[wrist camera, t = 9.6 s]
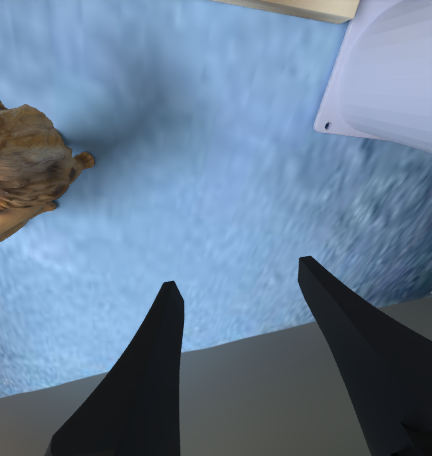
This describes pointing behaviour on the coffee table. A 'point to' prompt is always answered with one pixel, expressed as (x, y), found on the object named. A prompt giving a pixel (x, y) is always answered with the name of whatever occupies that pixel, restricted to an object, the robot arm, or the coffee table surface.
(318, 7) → the shaft board
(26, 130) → the lion figurine
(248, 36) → the coffee table surface
